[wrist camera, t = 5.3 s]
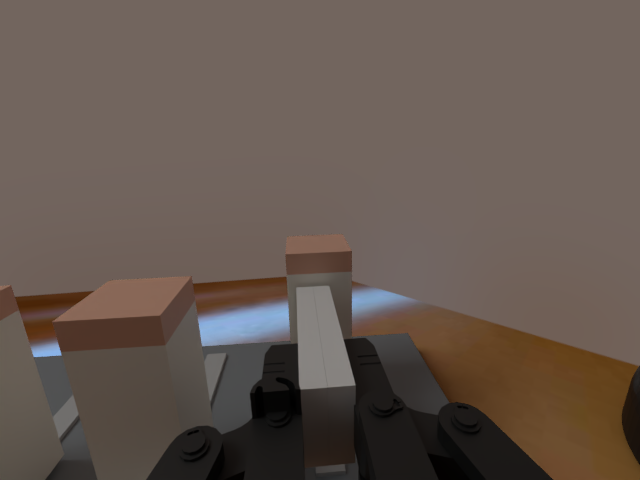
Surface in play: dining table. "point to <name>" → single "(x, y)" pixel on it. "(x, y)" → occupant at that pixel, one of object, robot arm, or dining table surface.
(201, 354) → the switch
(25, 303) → the dining table surface
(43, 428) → the white brown-topped block
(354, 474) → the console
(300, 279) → the switch
